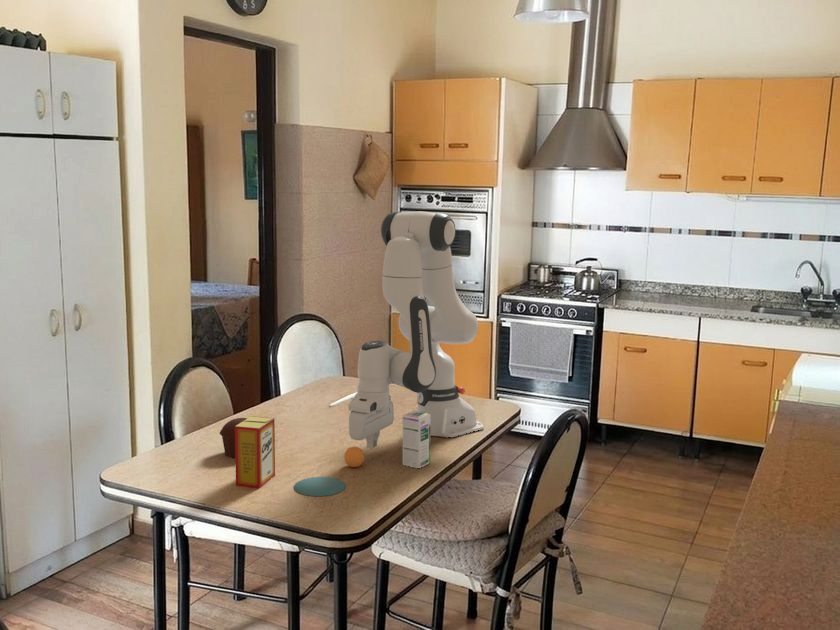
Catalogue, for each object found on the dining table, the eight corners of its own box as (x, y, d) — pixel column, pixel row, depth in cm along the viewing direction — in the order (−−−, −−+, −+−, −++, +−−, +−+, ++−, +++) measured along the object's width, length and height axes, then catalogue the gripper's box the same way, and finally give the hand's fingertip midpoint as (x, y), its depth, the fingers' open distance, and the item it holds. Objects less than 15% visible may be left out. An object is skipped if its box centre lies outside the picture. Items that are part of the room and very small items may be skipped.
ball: (358, 462, 228) (359, 442, 227) (367, 468, 223) (367, 448, 222) (340, 465, 225) (340, 445, 224) (349, 471, 221) (349, 451, 220)
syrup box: (419, 469, 223) (420, 417, 221) (401, 465, 226) (402, 414, 224) (430, 463, 228) (431, 412, 225) (412, 459, 231) (413, 409, 228)
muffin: (248, 444, 241) (247, 411, 239) (269, 454, 233) (269, 420, 232) (212, 453, 233) (211, 419, 231) (233, 463, 225) (232, 428, 223)
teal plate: (333, 474, 218) (333, 473, 218) (354, 490, 207) (354, 490, 207) (286, 482, 212) (286, 481, 212) (305, 499, 200) (305, 499, 200)
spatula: (337, 409, 281) (337, 401, 281) (327, 407, 283) (327, 399, 282) (380, 391, 305) (380, 384, 305) (370, 390, 307) (370, 382, 307)
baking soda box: (259, 488, 207) (258, 427, 205) (235, 485, 209) (234, 424, 206) (275, 475, 217) (274, 416, 214) (252, 473, 218) (251, 414, 215)
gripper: (380, 390, 240) (379, 436, 242) (344, 405, 221) (344, 455, 223) (399, 393, 237) (398, 439, 239) (365, 408, 219) (364, 459, 221)
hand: (372, 447), depth 231 cm, fingers closed
